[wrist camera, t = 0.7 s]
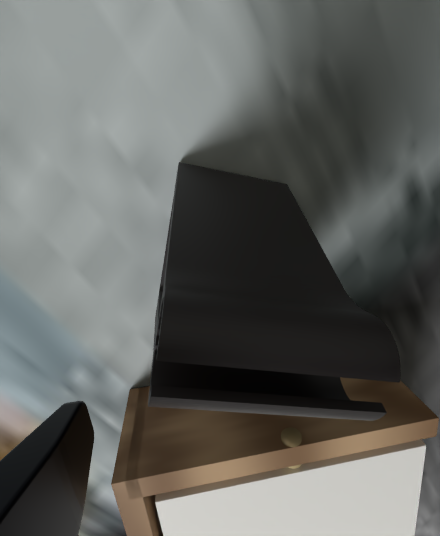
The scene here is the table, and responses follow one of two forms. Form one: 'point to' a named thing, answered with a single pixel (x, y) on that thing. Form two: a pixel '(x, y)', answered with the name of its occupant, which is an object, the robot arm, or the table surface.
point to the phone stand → (257, 309)
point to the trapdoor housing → (245, 444)
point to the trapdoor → (306, 499)
